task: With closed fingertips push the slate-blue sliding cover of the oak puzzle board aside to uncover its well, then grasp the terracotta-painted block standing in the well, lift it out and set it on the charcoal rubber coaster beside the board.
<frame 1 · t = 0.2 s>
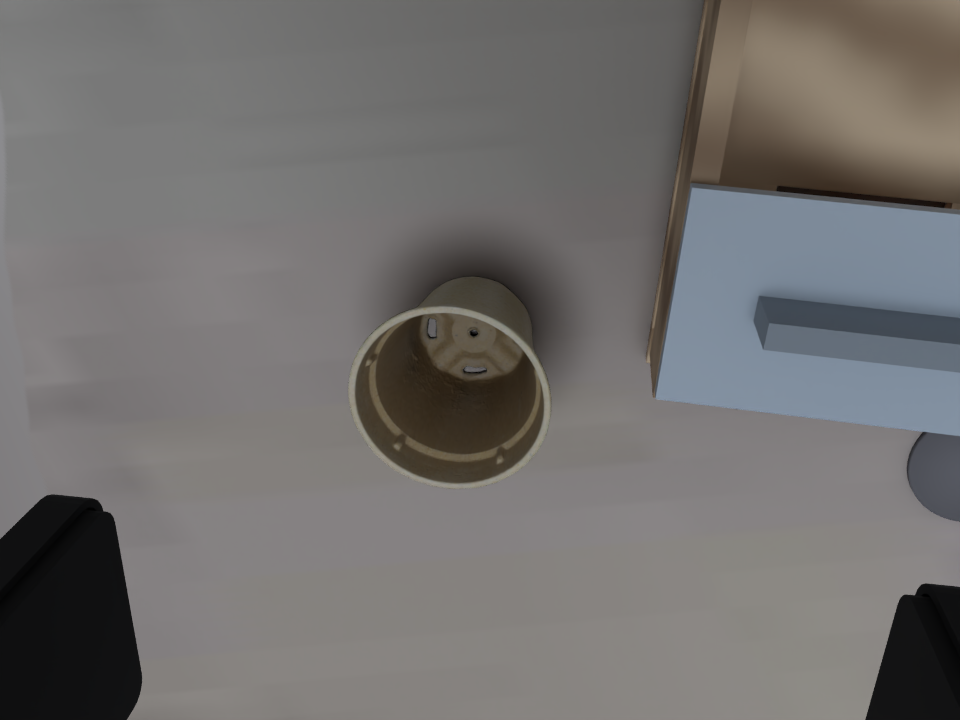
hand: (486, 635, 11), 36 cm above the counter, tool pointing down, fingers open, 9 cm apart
lid: (880, 332, 38), point 8 cm above the counter, slide at 0.0 cm
board: (873, 137, 42), on the counter
flower pot: (474, 325, 49), on the counter
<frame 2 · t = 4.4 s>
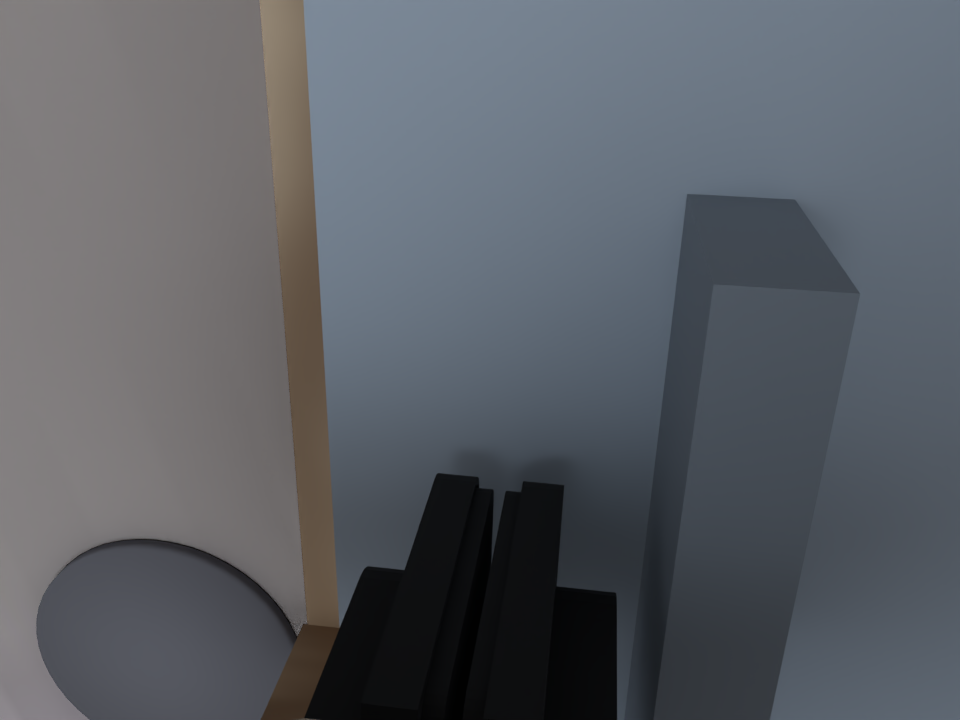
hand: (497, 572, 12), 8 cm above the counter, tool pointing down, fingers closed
lid: (695, 608, 11), point 8 cm above the counter, slide at 1.7 cm, touching gripper
board: (912, 370, 18), on the counter
coaster: (173, 650, 24), on the counter
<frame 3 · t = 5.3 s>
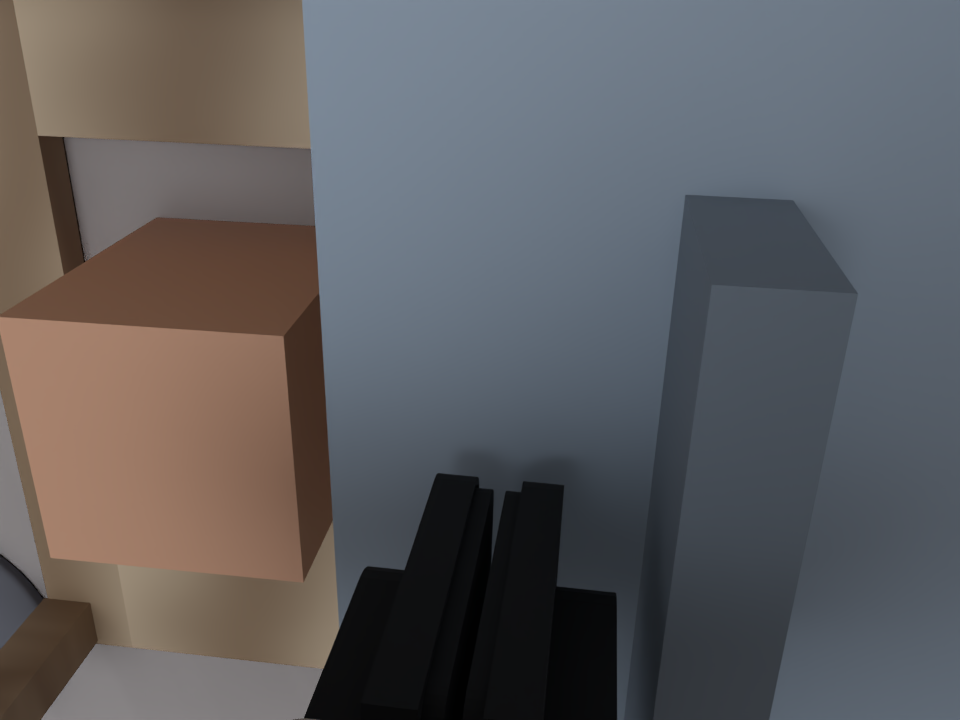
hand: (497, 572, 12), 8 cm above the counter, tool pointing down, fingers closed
lid: (694, 608, 12), point 8 cm above the counter, slide at 8.3 cm, touching gripper
block: (271, 324, 19), resting in board
board: (576, 347, 19), on the counter
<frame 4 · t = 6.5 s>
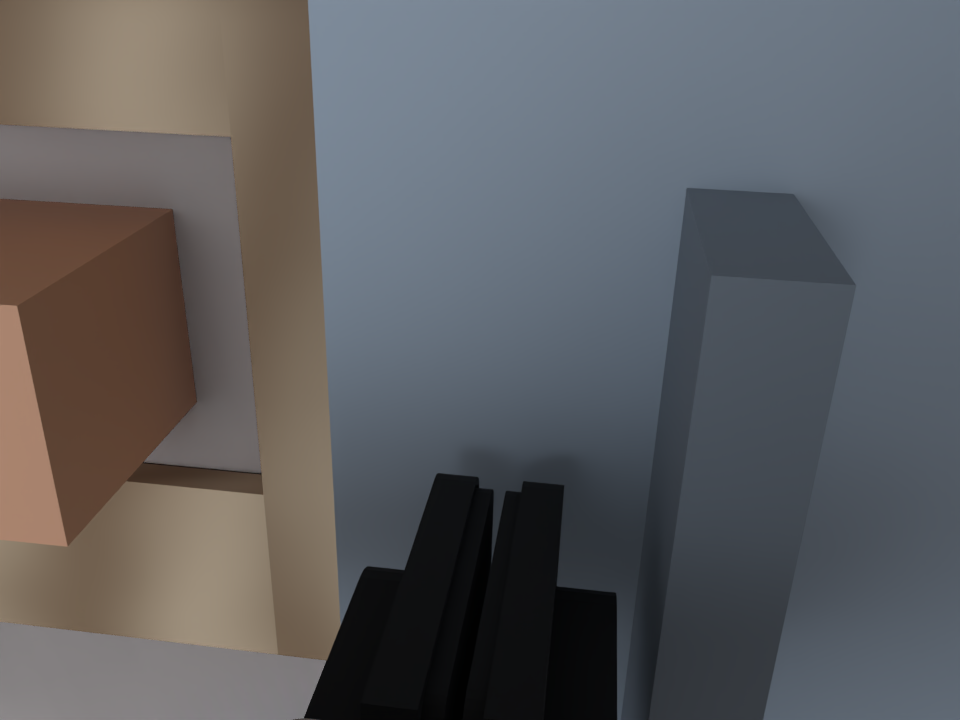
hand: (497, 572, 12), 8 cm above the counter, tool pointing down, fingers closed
lid: (692, 598, 12), point 8 cm above the counter, slide at 12.5 cm, touching gripper
block: (88, 302, 20), resting in board
board: (376, 326, 19), on the counter
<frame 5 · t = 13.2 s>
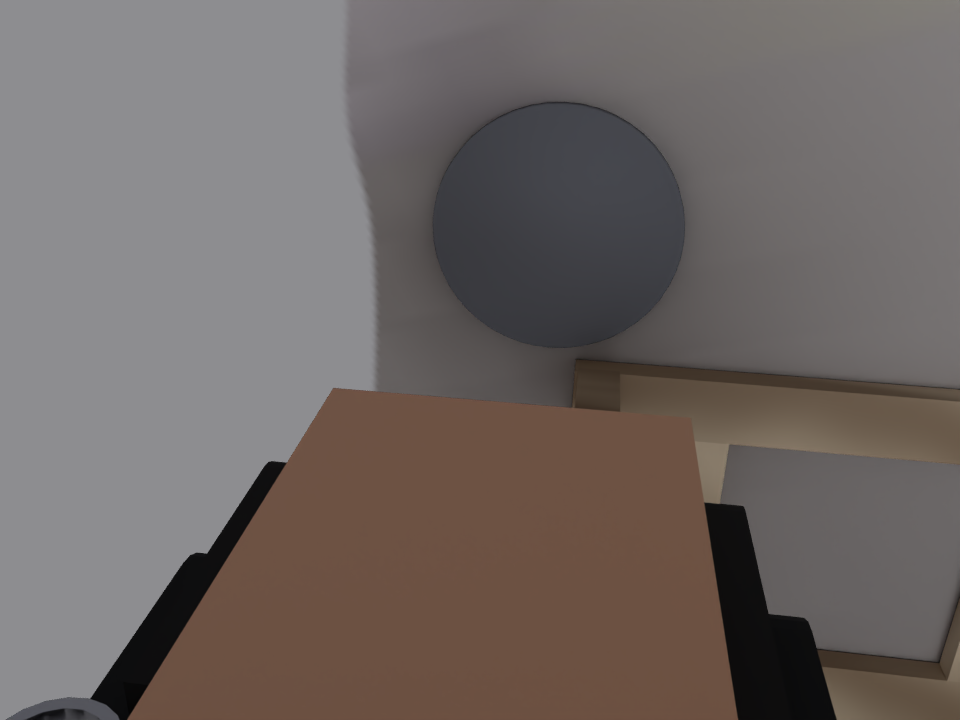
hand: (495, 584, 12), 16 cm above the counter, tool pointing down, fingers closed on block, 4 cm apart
block: (502, 549, 12), point 15 cm above the counter, touching gripper
board: (801, 704, 32), on the counter
coaster: (557, 228, 26), on the counter
when the fingers open (3 cm above the counter, at t = 15.9 s): block drops 2 cm, resting on coaster.
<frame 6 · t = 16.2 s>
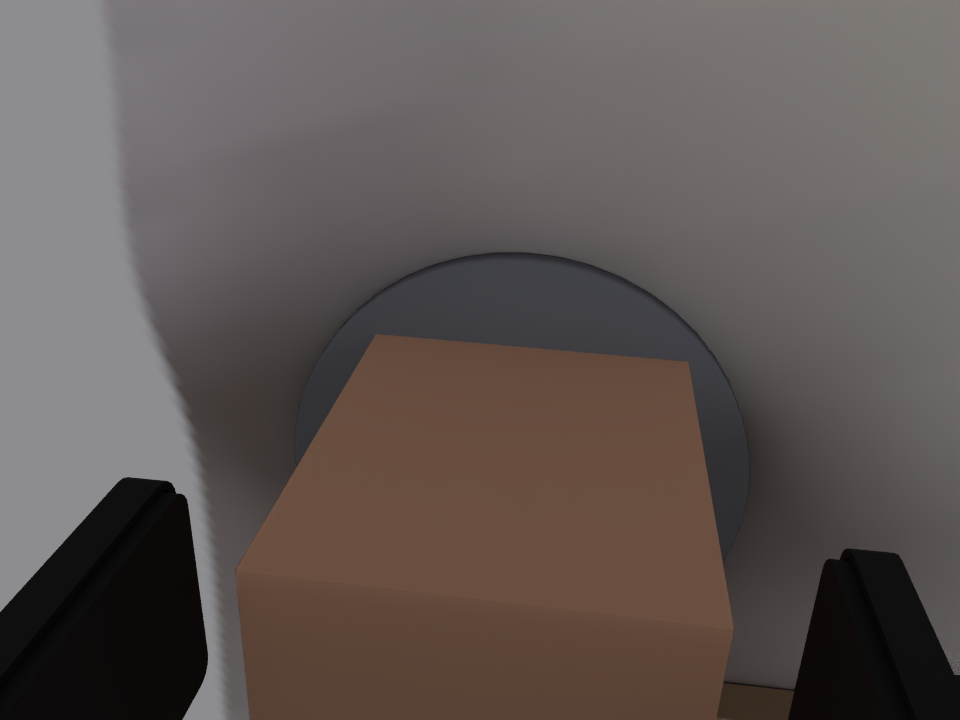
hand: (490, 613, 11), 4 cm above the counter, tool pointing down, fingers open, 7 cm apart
block: (520, 480, 14), resting on coaster
coaster: (517, 464, 14), on the counter
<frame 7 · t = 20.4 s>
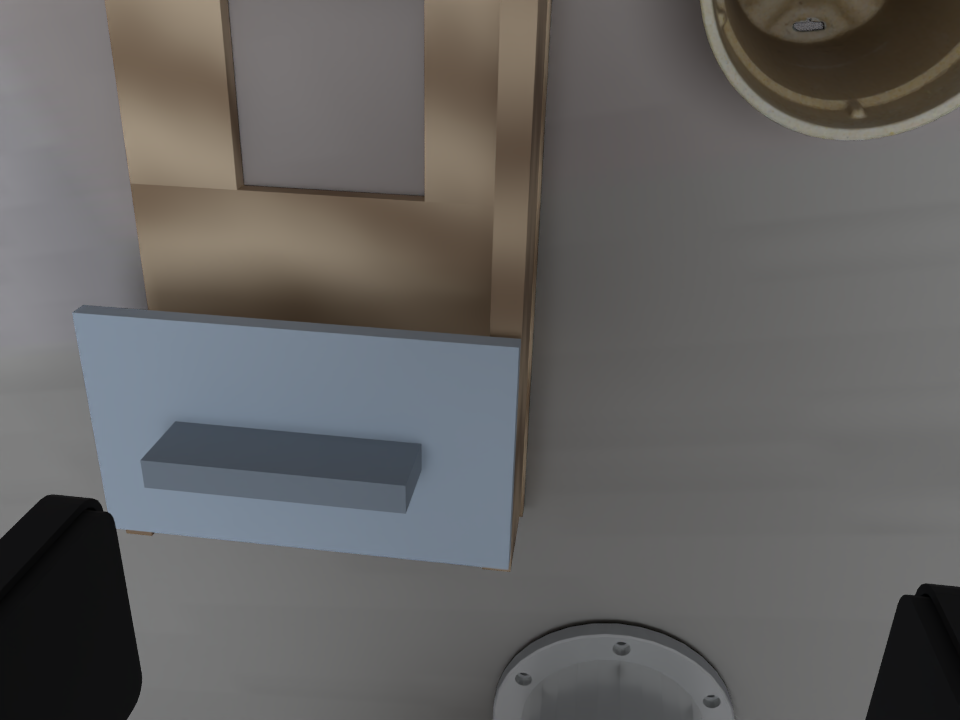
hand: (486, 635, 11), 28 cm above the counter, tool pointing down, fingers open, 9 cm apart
lid: (288, 459, 35), point 8 cm above the counter, slide at 12.5 cm
board: (337, 247, 40), on the counter
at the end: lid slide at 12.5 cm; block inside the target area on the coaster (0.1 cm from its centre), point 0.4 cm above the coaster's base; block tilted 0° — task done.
